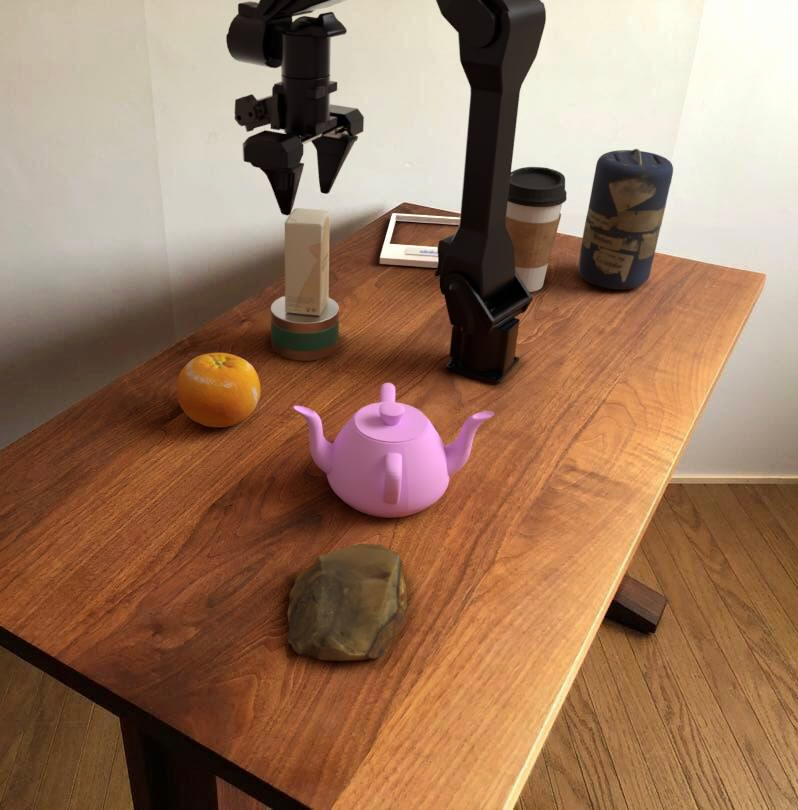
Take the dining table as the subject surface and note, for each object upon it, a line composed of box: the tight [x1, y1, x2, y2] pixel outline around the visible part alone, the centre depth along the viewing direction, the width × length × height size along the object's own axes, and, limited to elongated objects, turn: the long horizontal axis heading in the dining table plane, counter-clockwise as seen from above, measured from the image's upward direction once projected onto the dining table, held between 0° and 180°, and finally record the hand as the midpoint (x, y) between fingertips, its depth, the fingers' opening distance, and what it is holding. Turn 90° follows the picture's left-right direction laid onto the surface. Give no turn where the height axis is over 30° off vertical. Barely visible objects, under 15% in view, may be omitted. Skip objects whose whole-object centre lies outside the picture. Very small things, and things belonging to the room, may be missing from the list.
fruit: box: [176, 352, 261, 428], centre depth 95 cm, size 8×8×8 cm
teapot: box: [293, 382, 495, 519], centre depth 84 cm, size 12×14×9 cm
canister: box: [577, 148, 674, 290], centre depth 121 cm, size 10×10×18 cm
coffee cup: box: [506, 166, 568, 293], centre depth 121 cm, size 8×8×15 cm
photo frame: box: [379, 212, 460, 269], centre depth 136 cm, size 15×1×18 cm
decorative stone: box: [286, 543, 408, 662], centre depth 71 cm, size 10×9×4 cm
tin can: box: [270, 295, 340, 362], centre depth 108 cm, size 8×8×5 cm
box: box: [284, 207, 331, 315], centre depth 105 cm, size 5×4×11 cm
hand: (305, 203), depth 114 cm, fingers open, 9 cm apart
